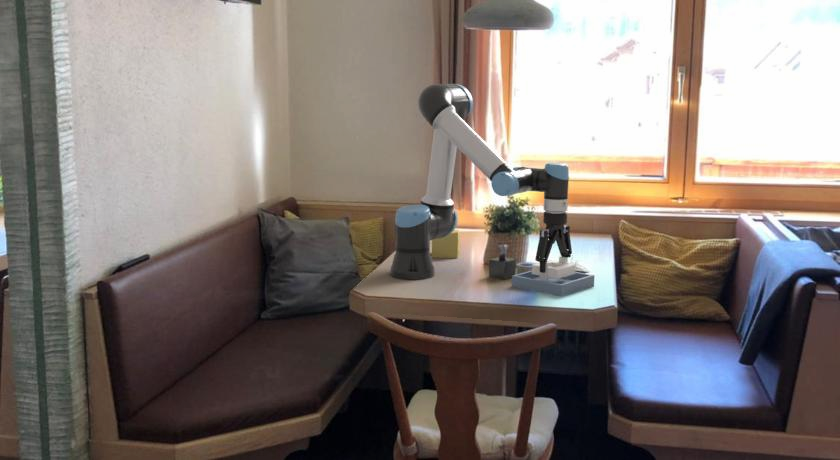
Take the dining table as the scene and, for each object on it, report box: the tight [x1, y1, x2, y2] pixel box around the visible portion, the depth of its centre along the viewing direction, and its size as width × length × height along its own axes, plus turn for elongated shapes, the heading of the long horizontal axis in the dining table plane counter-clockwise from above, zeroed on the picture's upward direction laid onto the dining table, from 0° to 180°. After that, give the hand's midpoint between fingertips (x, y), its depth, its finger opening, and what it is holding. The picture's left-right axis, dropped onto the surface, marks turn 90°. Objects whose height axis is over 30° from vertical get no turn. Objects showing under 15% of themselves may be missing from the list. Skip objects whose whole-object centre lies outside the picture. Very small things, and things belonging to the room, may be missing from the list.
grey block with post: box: [488, 243, 517, 281], centre depth 292 cm, size 6×6×11 cm
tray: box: [511, 269, 596, 297], centre depth 280 cm, size 19×19×4 cm
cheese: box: [431, 229, 461, 259], centre depth 326 cm, size 10×11×10 cm
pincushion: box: [567, 254, 590, 272], centre depth 301 cm, size 12×6×6 cm, turn 73°
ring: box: [531, 259, 576, 279], centre depth 280 cm, size 10×12×3 cm
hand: (553, 279), depth 280 cm, fingers closed on ring, 10 cm apart
